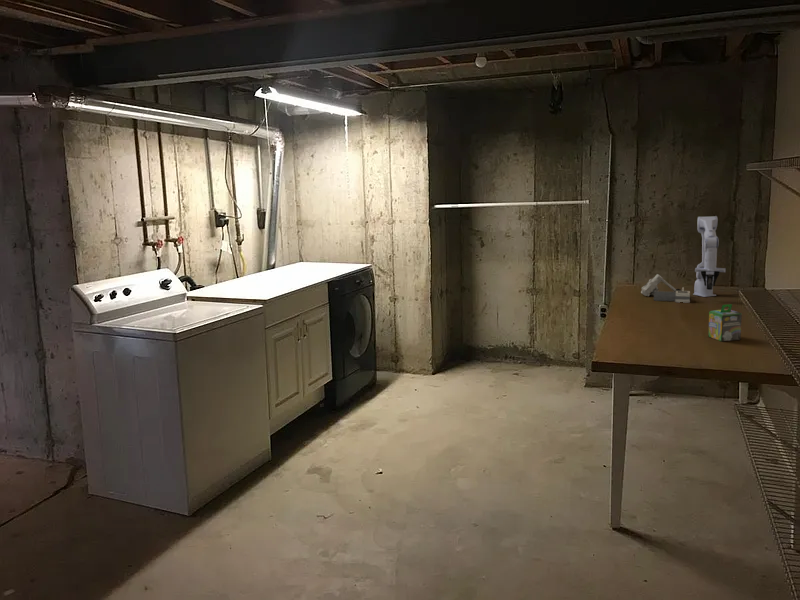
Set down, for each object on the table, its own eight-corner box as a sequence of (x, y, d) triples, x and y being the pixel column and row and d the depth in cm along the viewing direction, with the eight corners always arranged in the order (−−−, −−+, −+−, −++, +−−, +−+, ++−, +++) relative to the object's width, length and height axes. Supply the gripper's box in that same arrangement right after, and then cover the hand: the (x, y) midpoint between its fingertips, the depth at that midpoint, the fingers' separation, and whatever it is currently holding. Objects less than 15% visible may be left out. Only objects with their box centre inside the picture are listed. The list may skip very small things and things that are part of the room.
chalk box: (726, 335, 273) (728, 301, 271) (741, 340, 264) (743, 305, 262) (707, 336, 272) (708, 302, 269) (721, 342, 263) (722, 306, 260)
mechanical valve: (639, 289, 372) (658, 270, 365) (664, 308, 370) (683, 289, 364) (639, 293, 362) (658, 274, 356) (664, 313, 361) (684, 294, 354)
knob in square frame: (654, 295, 364) (655, 286, 363) (689, 296, 357) (689, 287, 356) (653, 301, 348) (653, 292, 347) (689, 302, 341) (690, 293, 340)
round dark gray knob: (703, 289, 340) (704, 274, 339) (709, 288, 341) (710, 273, 340) (709, 290, 337) (709, 275, 335) (715, 289, 338) (715, 274, 336)
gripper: (695, 261, 335) (694, 286, 338) (726, 261, 330) (725, 287, 332) (695, 259, 342) (694, 284, 344) (725, 259, 336) (724, 284, 339)
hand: (709, 285), depth 339 cm, fingers closed on round dark gray knob, 3 cm apart
